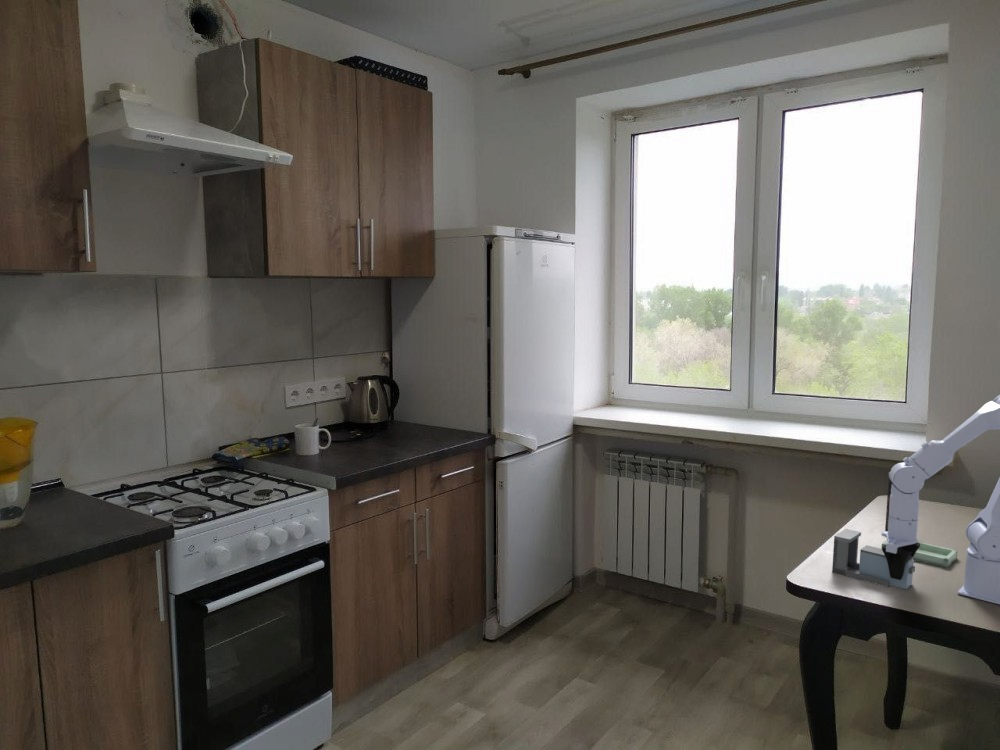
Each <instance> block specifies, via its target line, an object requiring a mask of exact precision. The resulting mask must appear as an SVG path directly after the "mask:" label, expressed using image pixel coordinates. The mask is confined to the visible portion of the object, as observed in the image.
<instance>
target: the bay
mask: <svg viewBox="0 0 1000 750" xmlns="http://www.w3.org/2000/svg"><path fill="white" fill-rule="evenodd" d="M861 536H862V531H857V530H853V529H848V528H845V529H843V530H841V531H840V532H838V533H836V534H835V535H834V537H833V551H832V552H833V553H832V554H833V555H832V571H831V572H832V573H834V574H838V575H843V576H846V577H849V578H853V579H856V580H860V581H864V582H867V581H868V582H869V583H871V584H875V583H876V584H875V585H878V584H880V585H879V586H882V585H883V587H886V586H887V587H886V588H888V587H889V586H890V585H889V581H888V580H884V579H880V578H877V577H873V576H869V575H865V574H862V573H859V571H857V572H856V571H853V570H849V569H848V567H849V568H853V569H857V570H859V565H860V562H858V552H859V538H860V537H861Z"/></svg>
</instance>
